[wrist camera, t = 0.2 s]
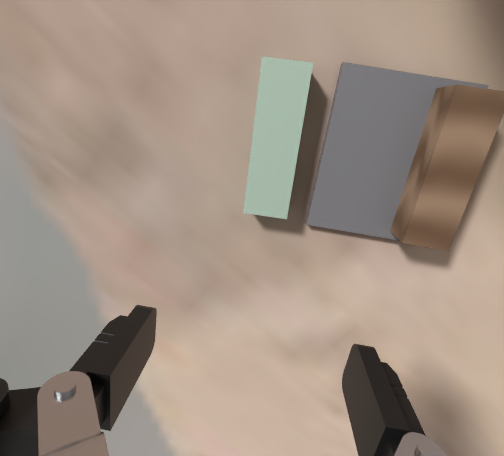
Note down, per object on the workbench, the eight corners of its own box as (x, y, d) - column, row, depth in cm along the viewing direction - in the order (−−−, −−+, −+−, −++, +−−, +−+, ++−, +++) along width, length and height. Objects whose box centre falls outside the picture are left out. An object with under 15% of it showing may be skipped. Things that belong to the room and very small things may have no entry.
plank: (263, 63, 34) (262, 56, 30) (309, 69, 34) (313, 62, 30) (246, 204, 40) (243, 213, 36) (285, 209, 39) (286, 219, 36)
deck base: (341, 63, 33) (343, 62, 32) (482, 86, 33) (488, 85, 32) (305, 222, 39) (306, 224, 38) (424, 242, 39) (428, 245, 38)
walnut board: (436, 88, 33) (457, 84, 29) (484, 96, 32) (511, 92, 29) (390, 230, 38) (402, 243, 34) (431, 237, 38) (448, 251, 34)
